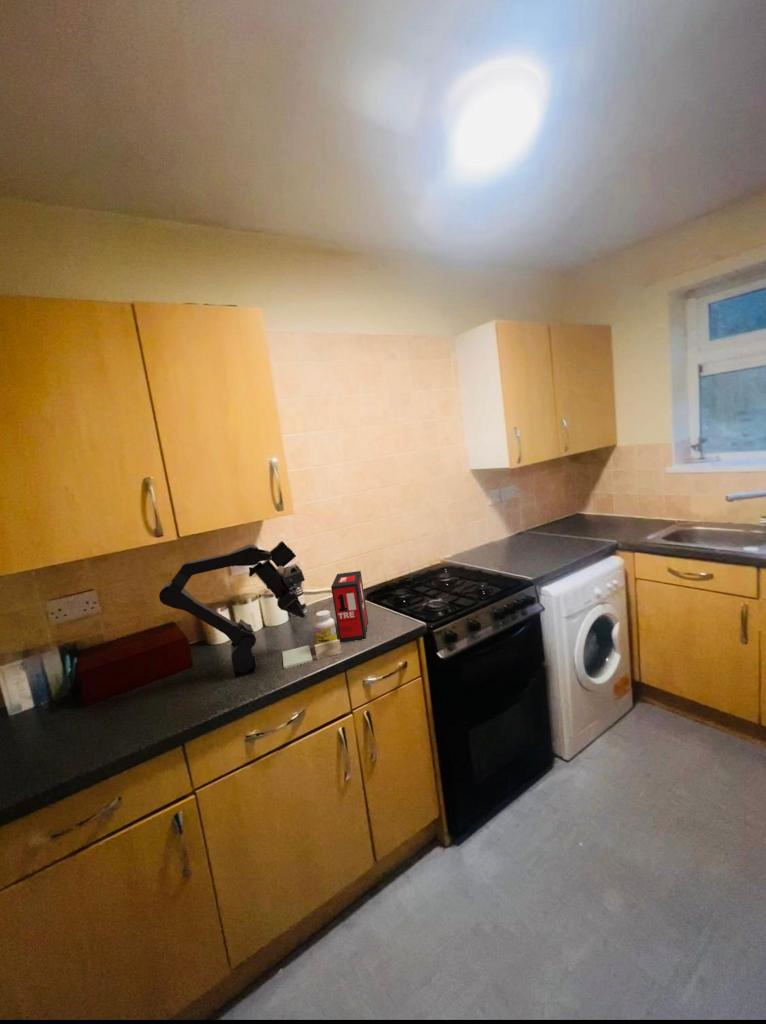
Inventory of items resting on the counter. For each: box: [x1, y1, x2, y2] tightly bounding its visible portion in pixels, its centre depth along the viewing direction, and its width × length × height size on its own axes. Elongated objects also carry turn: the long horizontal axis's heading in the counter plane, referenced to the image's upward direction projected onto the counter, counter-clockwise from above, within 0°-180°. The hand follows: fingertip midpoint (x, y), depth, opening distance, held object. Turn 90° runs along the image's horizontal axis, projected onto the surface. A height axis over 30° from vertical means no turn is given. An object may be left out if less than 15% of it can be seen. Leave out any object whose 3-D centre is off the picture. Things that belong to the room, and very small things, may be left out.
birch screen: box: [314, 638, 342, 660], centre depth 142 cm, size 8×1×4 cm, turn 105°
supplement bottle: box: [314, 609, 338, 645], centre depth 146 cm, size 7×7×13 cm
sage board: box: [281, 645, 314, 670], centre depth 144 cm, size 9×12×1 cm
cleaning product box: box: [330, 570, 369, 643], centre depth 158 cm, size 16×9×20 cm, turn 179°
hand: (302, 612), depth 144 cm, fingers open, 9 cm apart
